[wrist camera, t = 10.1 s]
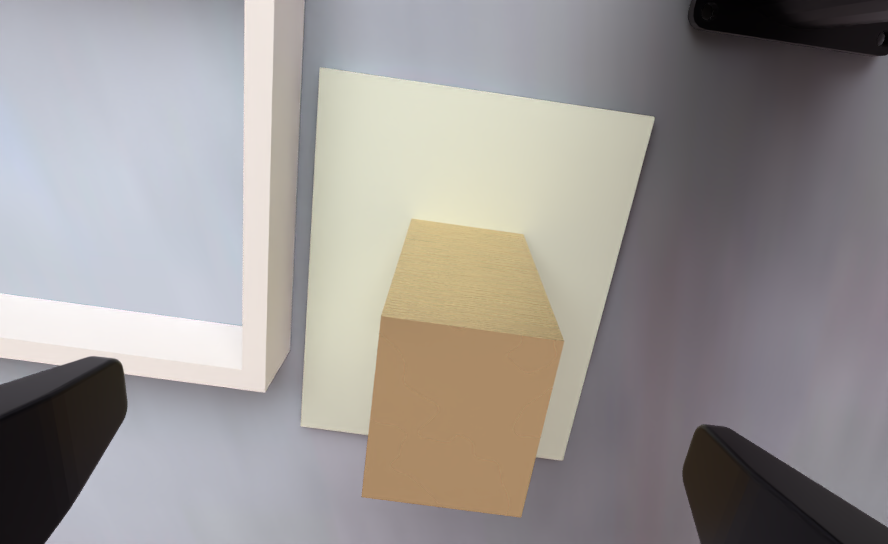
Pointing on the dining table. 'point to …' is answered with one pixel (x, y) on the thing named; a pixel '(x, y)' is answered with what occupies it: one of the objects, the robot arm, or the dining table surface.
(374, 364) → the rubber pad
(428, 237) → the block
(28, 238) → the dining table surface
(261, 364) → the white square frame
